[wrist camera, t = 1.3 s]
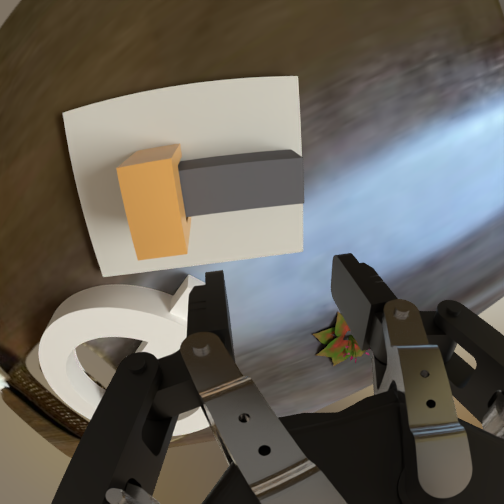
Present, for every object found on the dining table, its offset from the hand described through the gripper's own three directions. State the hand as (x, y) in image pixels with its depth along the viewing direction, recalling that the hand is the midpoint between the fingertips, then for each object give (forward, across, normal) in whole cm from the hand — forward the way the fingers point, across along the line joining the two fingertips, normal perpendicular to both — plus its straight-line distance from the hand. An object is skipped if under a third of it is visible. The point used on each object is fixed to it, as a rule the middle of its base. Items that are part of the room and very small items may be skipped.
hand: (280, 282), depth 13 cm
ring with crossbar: (+20, +17, +25) cm, 36 cm away
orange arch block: (+18, +7, 0) cm, 19 cm away
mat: (+19, +5, 0) cm, 20 cm away
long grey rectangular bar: (+18, +2, 0) cm, 18 cm away
